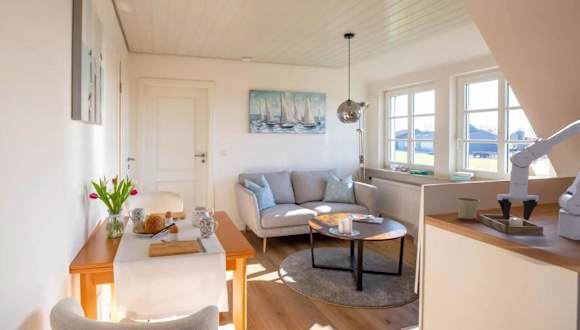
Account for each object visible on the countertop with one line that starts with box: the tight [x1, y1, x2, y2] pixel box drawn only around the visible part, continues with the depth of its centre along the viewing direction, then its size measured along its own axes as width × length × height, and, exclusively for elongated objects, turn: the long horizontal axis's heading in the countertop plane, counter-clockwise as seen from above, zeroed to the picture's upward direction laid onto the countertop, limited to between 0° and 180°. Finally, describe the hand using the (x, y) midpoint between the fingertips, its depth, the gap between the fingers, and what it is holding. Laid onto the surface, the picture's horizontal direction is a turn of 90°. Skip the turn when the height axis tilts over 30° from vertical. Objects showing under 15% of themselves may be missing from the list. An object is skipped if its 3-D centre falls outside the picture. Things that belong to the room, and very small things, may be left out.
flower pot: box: [455, 197, 481, 220], centre depth 165 cm, size 9×9×9 cm
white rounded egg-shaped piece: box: [509, 217, 524, 226], centre depth 143 cm, size 4×4×4 cm
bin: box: [477, 213, 544, 235], centre depth 148 cm, size 20×14×4 cm, turn 1°
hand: (516, 219), depth 143 cm, fingers open, 7 cm apart
